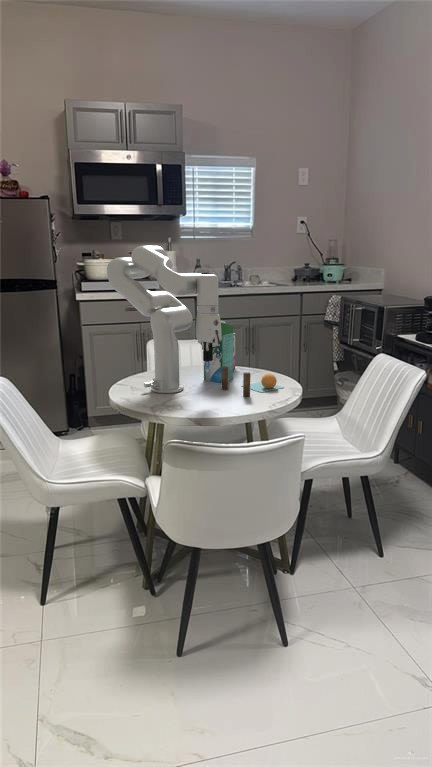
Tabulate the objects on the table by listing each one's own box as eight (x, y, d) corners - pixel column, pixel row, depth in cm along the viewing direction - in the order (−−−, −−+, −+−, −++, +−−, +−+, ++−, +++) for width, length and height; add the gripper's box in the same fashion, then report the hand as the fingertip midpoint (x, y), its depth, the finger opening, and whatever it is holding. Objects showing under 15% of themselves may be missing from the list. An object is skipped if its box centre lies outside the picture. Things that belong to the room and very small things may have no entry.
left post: (224, 390, 205) (224, 367, 202) (220, 389, 207) (220, 366, 204) (229, 389, 206) (229, 367, 204) (225, 388, 208) (225, 365, 206)
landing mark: (261, 392, 201) (261, 392, 201) (241, 386, 211) (241, 386, 211) (284, 387, 209) (284, 387, 208) (263, 382, 218) (263, 381, 218)
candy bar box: (224, 367, 245) (225, 332, 241) (235, 368, 244) (235, 332, 240) (220, 373, 234) (220, 336, 230) (231, 373, 233) (231, 336, 229)
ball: (281, 376, 205) (276, 391, 205) (273, 374, 211) (269, 389, 211) (268, 372, 203) (264, 387, 203) (261, 371, 208) (256, 385, 208)
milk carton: (233, 378, 224) (233, 319, 218) (221, 383, 216) (222, 322, 210) (215, 376, 228) (215, 318, 222) (203, 380, 221) (203, 320, 215)
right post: (246, 397, 195) (246, 374, 192) (241, 396, 197) (241, 372, 194) (251, 396, 196) (251, 373, 194) (247, 395, 198) (247, 371, 196)
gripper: (229, 311, 182) (229, 363, 187) (203, 307, 194) (204, 356, 198) (211, 312, 178) (212, 365, 182) (187, 308, 189) (187, 359, 194)
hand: (207, 360), depth 190 cm, fingers closed
